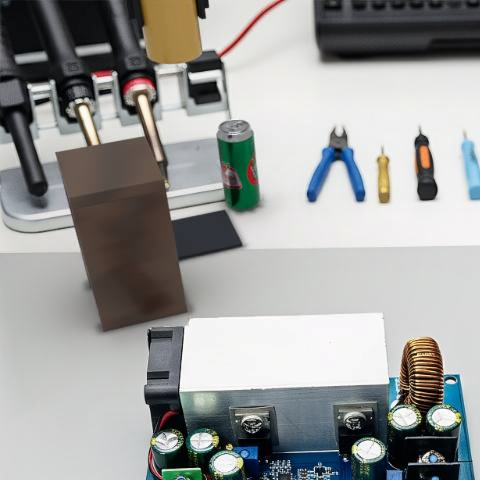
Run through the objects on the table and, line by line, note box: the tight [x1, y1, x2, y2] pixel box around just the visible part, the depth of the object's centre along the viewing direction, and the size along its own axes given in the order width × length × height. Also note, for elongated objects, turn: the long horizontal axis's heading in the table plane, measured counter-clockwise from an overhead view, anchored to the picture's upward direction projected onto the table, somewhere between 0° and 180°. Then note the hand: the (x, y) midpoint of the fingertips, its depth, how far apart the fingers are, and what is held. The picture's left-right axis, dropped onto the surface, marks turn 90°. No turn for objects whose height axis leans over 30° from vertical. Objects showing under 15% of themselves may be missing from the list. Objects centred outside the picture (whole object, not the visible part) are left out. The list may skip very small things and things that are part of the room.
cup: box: [139, 0, 204, 65], centre depth 115 cm, size 7×7×9 cm
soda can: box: [215, 118, 261, 211], centre depth 138 cm, size 5×5×12 cm
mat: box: [171, 209, 243, 261], centre depth 136 cm, size 9×9×1 cm
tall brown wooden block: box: [54, 135, 188, 332], centre depth 120 cm, size 10×10×19 cm
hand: (169, 18), depth 116 cm, fingers closed on cup, 6 cm apart
